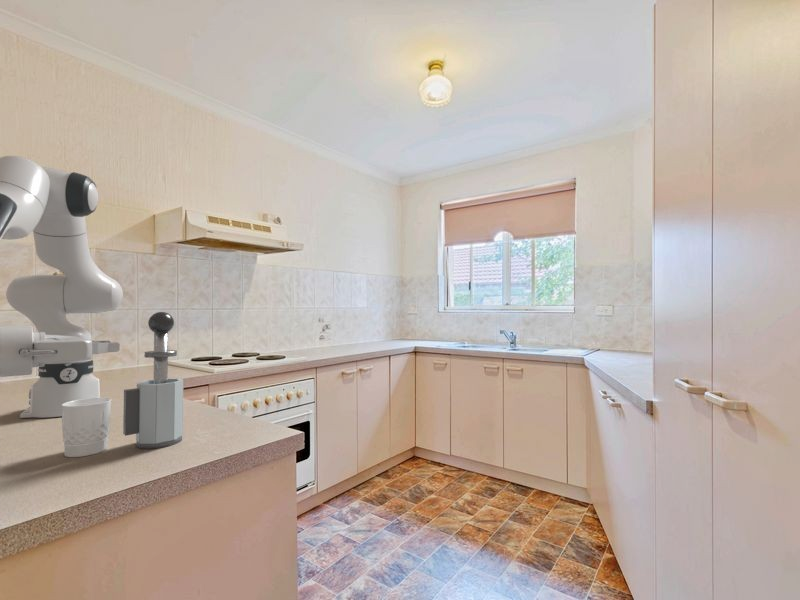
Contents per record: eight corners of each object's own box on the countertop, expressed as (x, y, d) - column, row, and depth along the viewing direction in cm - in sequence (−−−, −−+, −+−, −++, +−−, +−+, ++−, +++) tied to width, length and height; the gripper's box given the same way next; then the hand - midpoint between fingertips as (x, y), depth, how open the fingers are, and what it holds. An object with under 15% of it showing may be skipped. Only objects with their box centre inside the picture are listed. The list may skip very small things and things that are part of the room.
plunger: (140, 431, 84) (142, 312, 85) (171, 425, 89) (173, 311, 90) (147, 437, 80) (148, 311, 81) (179, 431, 84) (180, 311, 85)
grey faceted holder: (120, 444, 83) (121, 383, 83) (175, 433, 90) (176, 377, 91) (128, 454, 77) (129, 388, 77) (187, 442, 84) (187, 381, 85)
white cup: (119, 444, 83) (120, 397, 83) (91, 458, 75) (92, 406, 75) (81, 445, 83) (82, 397, 83) (49, 459, 75) (50, 406, 75)
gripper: (20, 334, 62) (125, 331, 72) (18, 331, 77) (106, 329, 86) (19, 374, 62) (124, 365, 72) (17, 363, 76) (105, 357, 86)
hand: (114, 345), depth 79 cm, fingers open, 8 cm apart
